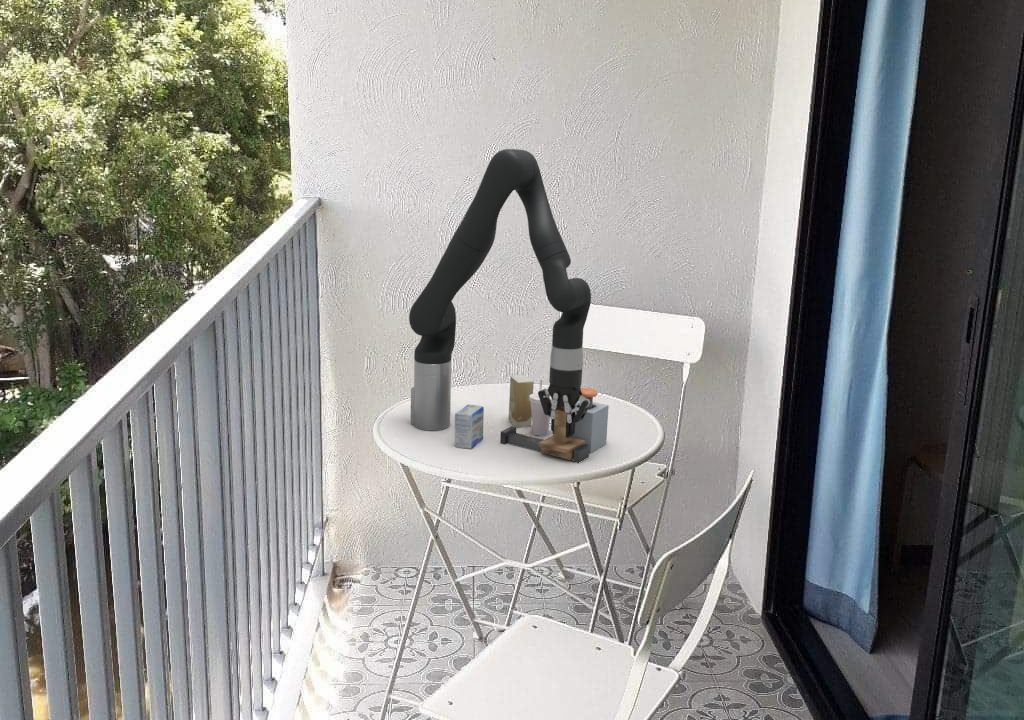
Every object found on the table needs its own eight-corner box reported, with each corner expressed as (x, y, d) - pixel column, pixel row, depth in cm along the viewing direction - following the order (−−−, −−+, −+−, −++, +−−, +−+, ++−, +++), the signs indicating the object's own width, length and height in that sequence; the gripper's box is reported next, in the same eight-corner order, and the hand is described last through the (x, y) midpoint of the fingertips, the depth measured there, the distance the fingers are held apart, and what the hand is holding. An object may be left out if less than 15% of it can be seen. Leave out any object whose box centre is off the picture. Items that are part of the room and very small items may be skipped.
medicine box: (471, 449, 239) (472, 415, 236) (453, 447, 240) (454, 412, 238) (483, 439, 246) (484, 405, 244) (466, 436, 247) (467, 403, 245)
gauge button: (571, 418, 242) (572, 391, 240) (581, 413, 246) (582, 386, 244) (589, 422, 239) (591, 395, 237) (599, 417, 243) (601, 390, 241)
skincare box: (507, 420, 261) (509, 375, 257) (523, 419, 262) (525, 374, 259) (516, 428, 255) (518, 382, 251) (532, 426, 256) (534, 381, 253)
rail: (500, 443, 244) (500, 431, 243) (511, 437, 248) (511, 426, 247) (578, 463, 232) (579, 451, 232) (588, 457, 236) (589, 445, 236)
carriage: (538, 454, 236) (540, 410, 233) (555, 444, 243) (557, 401, 240) (567, 461, 232) (570, 416, 229) (584, 451, 239) (587, 408, 236)
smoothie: (538, 427, 256) (540, 374, 252) (558, 433, 252) (560, 379, 249) (522, 433, 251) (524, 379, 248) (542, 439, 247) (545, 384, 244)
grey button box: (561, 446, 243) (563, 406, 240) (577, 437, 250) (579, 399, 247) (590, 453, 239) (592, 413, 236) (606, 444, 245) (608, 405, 243)
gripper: (531, 362, 232) (528, 433, 237) (585, 373, 225) (581, 446, 230) (548, 356, 238) (545, 425, 243) (600, 366, 231) (596, 437, 236)
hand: (562, 434), depth 236 cm, fingers closed on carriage, 3 cm apart
